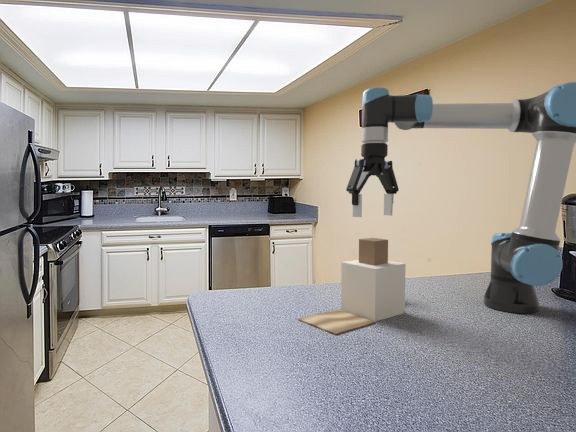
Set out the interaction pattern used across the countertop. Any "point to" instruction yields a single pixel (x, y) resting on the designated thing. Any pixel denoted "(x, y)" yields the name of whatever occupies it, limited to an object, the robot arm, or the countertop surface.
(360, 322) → the plate
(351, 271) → the cover
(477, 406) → the countertop surface
